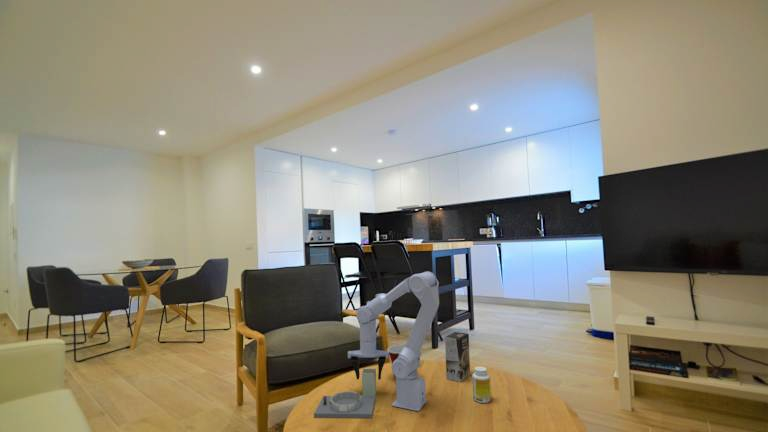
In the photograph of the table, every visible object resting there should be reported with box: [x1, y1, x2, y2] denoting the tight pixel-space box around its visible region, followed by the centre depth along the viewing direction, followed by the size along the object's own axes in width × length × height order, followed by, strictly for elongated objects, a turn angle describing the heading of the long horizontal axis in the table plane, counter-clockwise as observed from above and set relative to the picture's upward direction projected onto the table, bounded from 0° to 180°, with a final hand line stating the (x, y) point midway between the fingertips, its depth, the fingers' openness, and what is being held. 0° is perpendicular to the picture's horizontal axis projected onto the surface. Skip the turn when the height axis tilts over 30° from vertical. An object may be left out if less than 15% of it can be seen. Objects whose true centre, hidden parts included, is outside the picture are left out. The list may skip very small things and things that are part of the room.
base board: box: [313, 395, 377, 419], centre depth 113 cm, size 18×12×1 cm, turn 86°
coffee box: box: [444, 331, 471, 383], centre depth 136 cm, size 9×6×16 cm
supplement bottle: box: [471, 366, 491, 404], centre depth 117 cm, size 6×6×10 cm
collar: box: [322, 390, 362, 412], centre depth 113 cm, size 13×10×2 cm
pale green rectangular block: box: [361, 368, 377, 396], centre depth 123 cm, size 4×5×8 cm
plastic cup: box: [386, 343, 406, 380], centre depth 136 cm, size 11×11×12 cm
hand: (368, 378), depth 123 cm, fingers open, 7 cm apart
